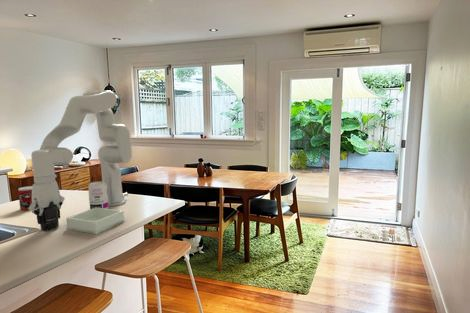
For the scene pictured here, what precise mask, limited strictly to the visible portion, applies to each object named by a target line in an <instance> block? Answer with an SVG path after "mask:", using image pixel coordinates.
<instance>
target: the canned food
mask: <svg viewBox="0 0 470 313" xmlns="http://www.w3.org/2000/svg"><path fill="white" fill-rule="evenodd" d="M32 186H33V185H30V186H23V187H19V188H18V190H17V192H18V193H17V194H18V202H19V210H20V211H24V212H26V211H27V212H28V211H30V210H29V209H28V208H29V207H30V205H31V204H32ZM34 209H35V210H36V208H34Z"/></svg>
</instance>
